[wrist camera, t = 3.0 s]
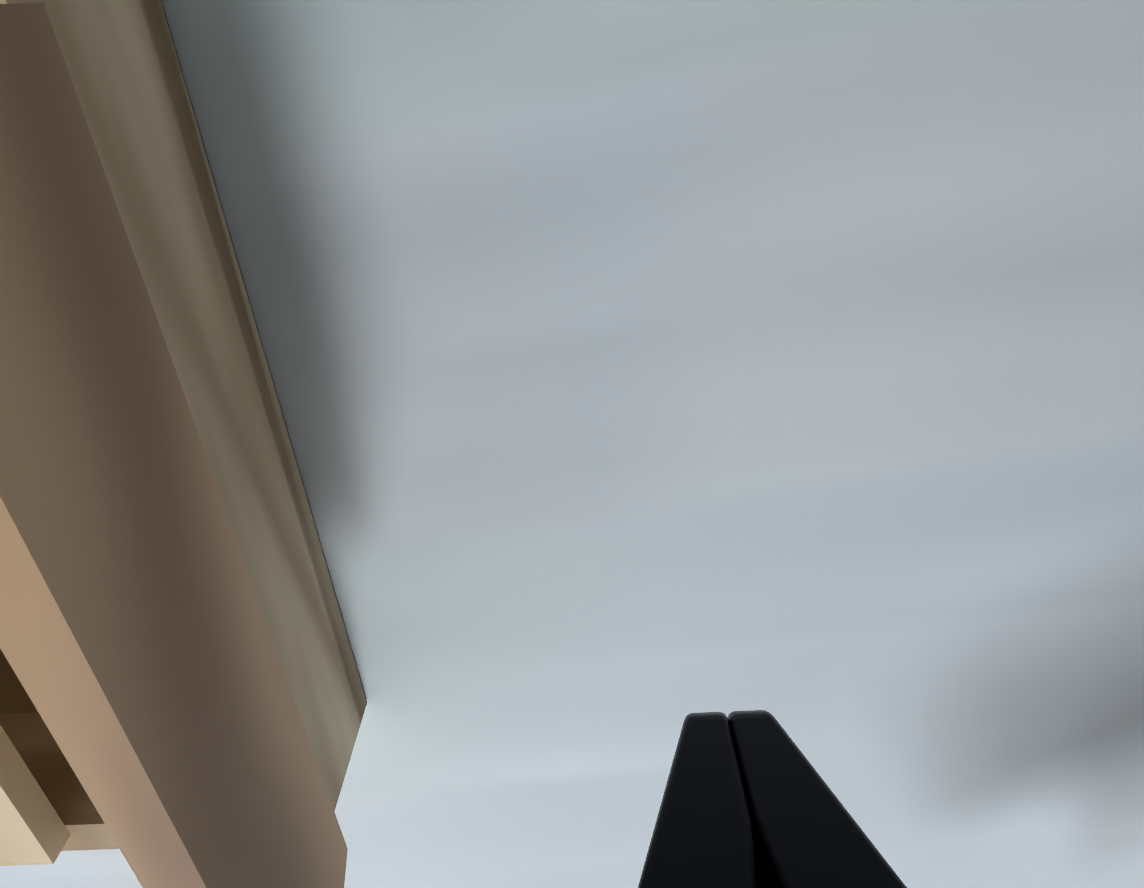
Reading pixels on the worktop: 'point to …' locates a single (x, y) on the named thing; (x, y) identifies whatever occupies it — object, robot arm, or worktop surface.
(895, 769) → the worktop surface
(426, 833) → the worktop surface
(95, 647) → the flap
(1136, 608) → the worktop surface
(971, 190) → the worktop surface
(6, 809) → the plywood box
